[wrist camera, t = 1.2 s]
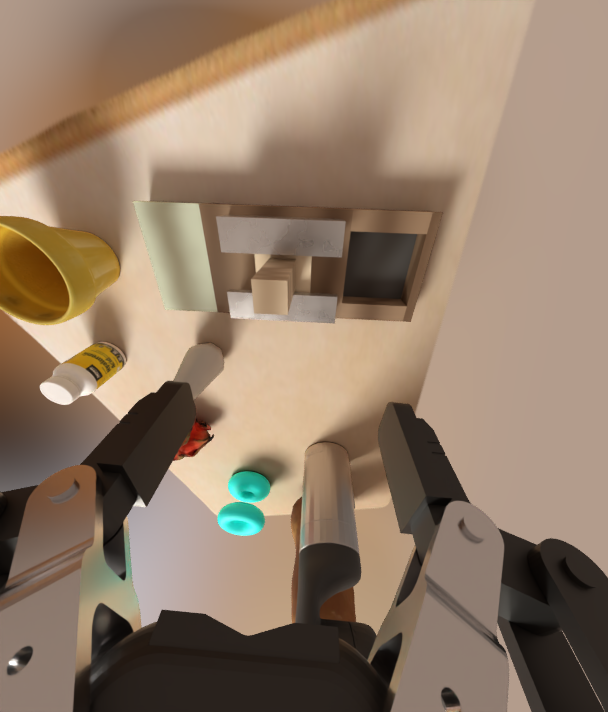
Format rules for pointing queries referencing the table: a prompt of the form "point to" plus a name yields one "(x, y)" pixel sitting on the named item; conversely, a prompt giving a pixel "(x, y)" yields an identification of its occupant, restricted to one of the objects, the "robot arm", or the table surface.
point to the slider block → (279, 281)
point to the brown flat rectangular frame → (328, 274)
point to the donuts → (244, 504)
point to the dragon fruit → (194, 440)
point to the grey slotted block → (283, 240)
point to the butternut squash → (336, 605)
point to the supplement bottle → (83, 373)
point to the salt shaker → (200, 367)
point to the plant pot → (51, 270)
